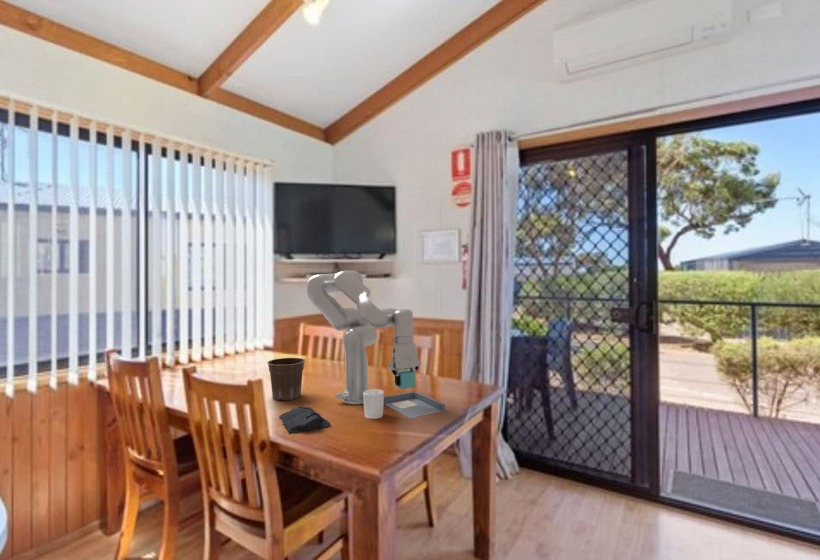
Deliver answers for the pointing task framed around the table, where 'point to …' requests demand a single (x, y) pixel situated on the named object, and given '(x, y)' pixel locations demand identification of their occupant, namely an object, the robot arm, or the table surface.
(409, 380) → the teal cube
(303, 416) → the dark slate chunk
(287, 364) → the plant pot
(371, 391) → the white cup
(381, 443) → the table surface
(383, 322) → the robot arm
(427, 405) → the tray
